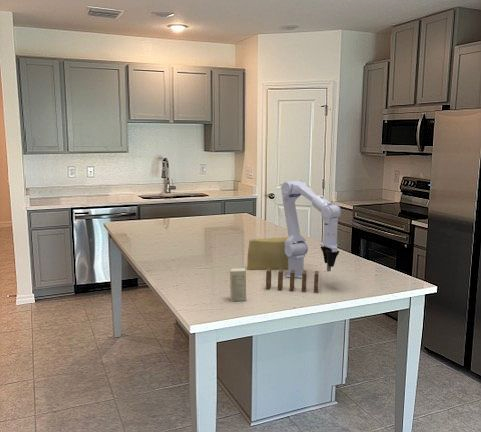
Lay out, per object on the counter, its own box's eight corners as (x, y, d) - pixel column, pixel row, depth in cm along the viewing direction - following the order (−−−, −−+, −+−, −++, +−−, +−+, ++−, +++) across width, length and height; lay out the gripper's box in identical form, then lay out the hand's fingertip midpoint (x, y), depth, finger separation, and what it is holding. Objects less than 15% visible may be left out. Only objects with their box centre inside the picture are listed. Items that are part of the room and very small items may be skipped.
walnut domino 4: (301, 291, 201) (302, 273, 200) (302, 288, 206) (302, 270, 205) (305, 292, 201) (306, 273, 199) (306, 288, 206) (306, 270, 204)
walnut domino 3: (289, 291, 202) (290, 272, 201) (290, 287, 207) (291, 269, 205) (293, 291, 202) (294, 272, 200) (294, 287, 206) (294, 269, 205)
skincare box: (245, 297, 193) (246, 267, 191) (246, 301, 189) (246, 270, 187) (229, 297, 193) (230, 267, 191) (229, 301, 189) (230, 270, 187)
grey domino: (326, 271, 204) (327, 252, 203) (327, 268, 209) (327, 250, 208) (330, 271, 204) (331, 253, 203) (330, 268, 209) (331, 250, 207)
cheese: (250, 272, 229) (250, 241, 227) (245, 267, 239) (245, 237, 236) (294, 269, 234) (295, 239, 232) (287, 264, 244) (288, 235, 241)
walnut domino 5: (313, 292, 200) (314, 274, 199) (314, 289, 205) (314, 270, 204) (317, 293, 200) (318, 274, 199) (317, 289, 205) (318, 271, 203)
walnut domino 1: (265, 289, 204) (266, 271, 202) (267, 286, 209) (267, 268, 207) (269, 289, 203) (270, 271, 202) (271, 286, 208) (271, 268, 207)
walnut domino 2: (277, 290, 203) (278, 271, 201) (278, 286, 208) (279, 268, 206) (281, 290, 202) (282, 272, 201) (282, 287, 207) (283, 269, 206)
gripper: (316, 230, 211) (315, 260, 213) (325, 237, 196) (324, 269, 199) (332, 230, 211) (331, 260, 214) (342, 236, 197) (341, 269, 199)
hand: (329, 264), depth 206 cm, fingers closed on grey domino, 5 cm apart
